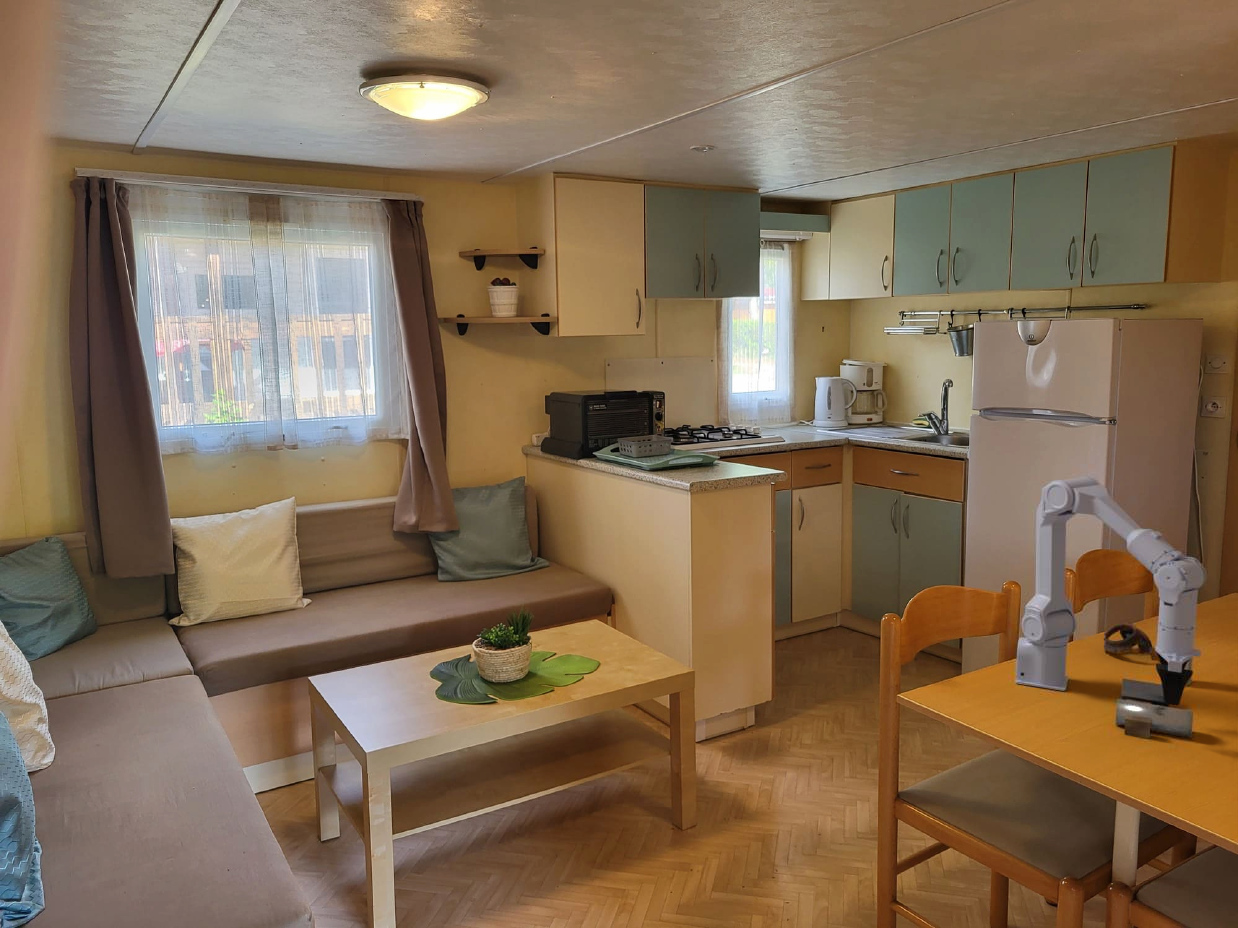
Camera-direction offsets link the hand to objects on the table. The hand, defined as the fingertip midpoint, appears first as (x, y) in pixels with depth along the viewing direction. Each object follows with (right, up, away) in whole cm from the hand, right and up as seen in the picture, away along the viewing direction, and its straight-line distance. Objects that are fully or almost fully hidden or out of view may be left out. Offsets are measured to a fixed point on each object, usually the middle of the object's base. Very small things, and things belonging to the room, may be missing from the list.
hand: (1171, 696), depth 169 cm
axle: (-2, -7, +2) cm, 7 cm away
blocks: (-4, -6, +4) cm, 8 cm away
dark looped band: (+14, -1, +39) cm, 42 cm away
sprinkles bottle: (+15, -3, +23) cm, 28 cm away
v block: (+2, -5, +12) cm, 13 cm away
